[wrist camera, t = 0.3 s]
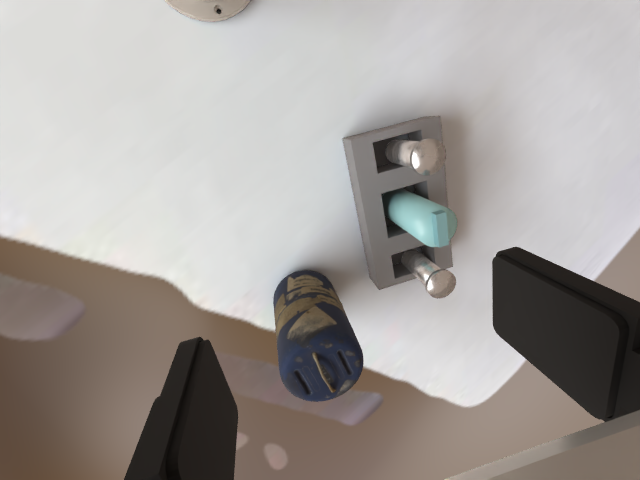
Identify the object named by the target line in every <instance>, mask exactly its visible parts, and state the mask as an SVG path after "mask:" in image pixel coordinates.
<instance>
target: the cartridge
mask: <svg viewBox="0 0 640 480" xmlns="http://www.w3.org/2000/svg"><path fill="white" fill-rule="evenodd" d="M382 203H383V209H384V215H385V216H386V217H387V218H388V219H390V220H391V221H393V222H394V223H395V224H397V225H398V226H400V227H401V228H403V229H404V230H405V231H407V232H408V233H410V234H411V235H412V236H414V237H415V238H417V239H418V240H419V241H421V242H422V243H424V244H425V245H427V246H430V247H439V248H440V247H443V246H446V245H449V240H450V239H451V238H452V237H453V235H454V233H455V231H456V228H457V218H456V216H455V214H454V212H453V211H452V210H450V209H448V208H446V207H444V206H442V205H439V204H437V203H435V202H432V201H430V200H428V199H425V198H423V197H421V196H419V195H416V194H414V193H412V192H409V191H407V190H405V189H402V188H399V189H396V190H392V191H389V192H385V194H384V195H383V196H382Z"/></svg>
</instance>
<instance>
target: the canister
mask: <svg viewBox="0 0 640 480" xmlns="http://www.w3.org/2000/svg"><path fill="white" fill-rule="evenodd" d="M274 314H275V326H276V340H277V350H278V361H279V371H280V376H281V379H282V382H283V384H284V385H285V387H286V388H287V389H288V391H289V392H291V393H292V394H293V395H294V396H296V397H298V398H301V399H303V400H307V401H314V402H318V401H326V400H330V399H333V398H336V397H338V396H340V395H342V394H344V393H345V392H347V391H348V390H349V389H350V388H351V387H352V386H353V385H354V384H355V383H356V382H357V380H358V379H359V377H360V375H361V372H362V368H363V353H362V350H361V347H360V345H359V342H358V340H357V338H356V336H355V333H354V331H353V329H352V327H351V325H350V323H349V320H348V318H347V316H346V313H345V311H344V309H343V305H342V303H341V302H340V300H339V298H338V296H337V294H336V292H335V290H334V288H333V286H332V284H331V282H330V281H329V280H328V279H327V278H326V277H325V276H323V275H322V274H320V273H318V272H314V271H308V270H304V271H298V272H294V273H292V274H290V275H288V276H287V277H286V278H284V279H283V280H282V281H281V282H280V284H279V285H278V287H277V288H276V291H275V294H274Z"/></svg>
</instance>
